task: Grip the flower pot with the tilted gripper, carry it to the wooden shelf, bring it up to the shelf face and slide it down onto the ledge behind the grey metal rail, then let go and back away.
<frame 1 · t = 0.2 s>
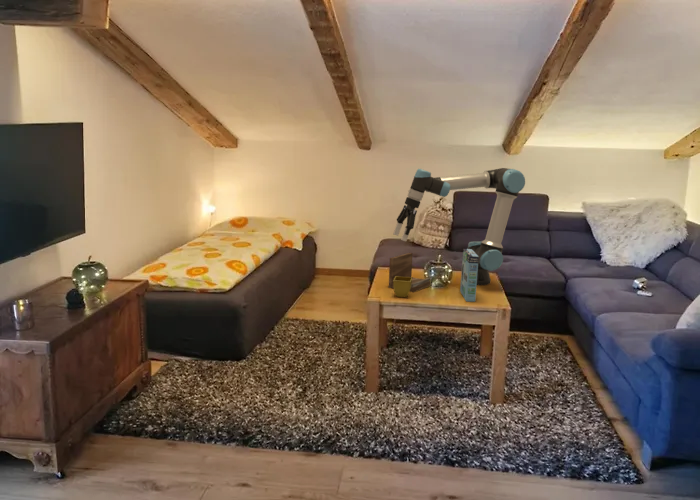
hand: (399, 237, 316), 28 cm above the table, tool tilted 20°, fingers open, 13 cm apart
wooden shelf: (412, 286, 329), on the table
blue cardboard box: (467, 297, 311), on the table
flower pot: (402, 296, 309), on the table
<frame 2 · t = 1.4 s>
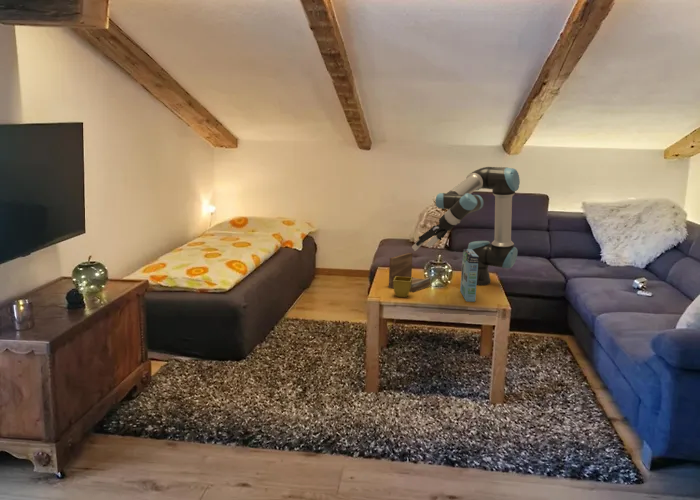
hand: (420, 247, 300), 26 cm above the table, tool tilted 45°, fingers open, 13 cm apart
nothing on the table moved.
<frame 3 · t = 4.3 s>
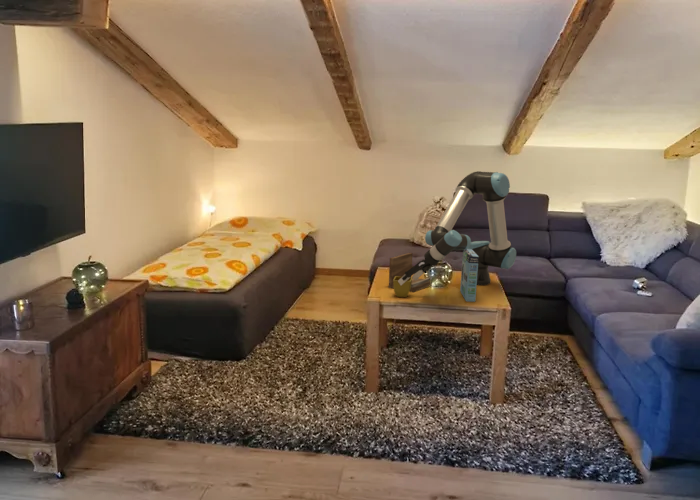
hand: (406, 280, 305), 8 cm above the table, tool tilted 45°, fingers open, 13 cm apart
flower pot: (402, 296, 310), on the table, touching gripper
everything else where it was.
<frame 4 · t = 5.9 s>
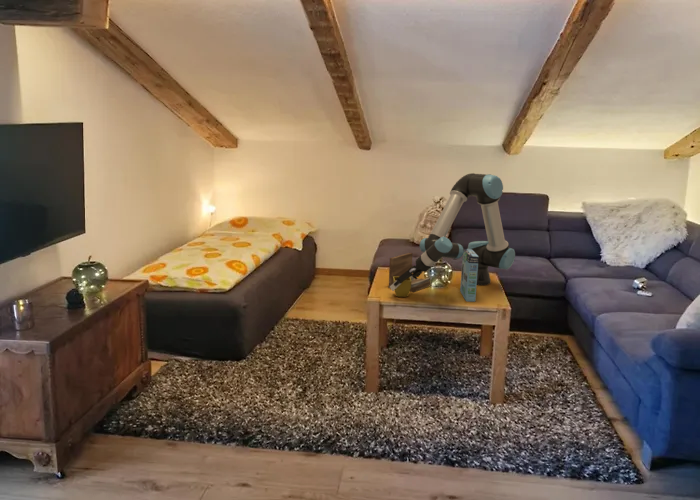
hand: (398, 286, 310), 4 cm above the table, tool tilted 45°, fingers closed on flower pot, 12 cm apart
flower pot: (401, 296, 310), on the table, touching gripper
everything else where it was.
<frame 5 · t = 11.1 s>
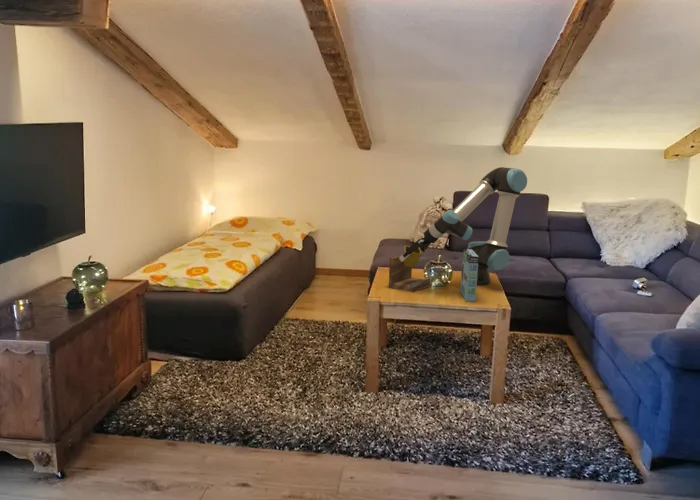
hand: (406, 258, 328), 15 cm above the table, tool tilted 45°, fingers closed on flower pot, 12 cm apart
flower pot: (409, 265, 328), point 11 cm above the table, touching gripper, wooden shelf
everything else where it was.
when the fingers open (9 cm above the table, at t = 13.1 s): flower pot drops 3 cm, resting on wooden shelf.
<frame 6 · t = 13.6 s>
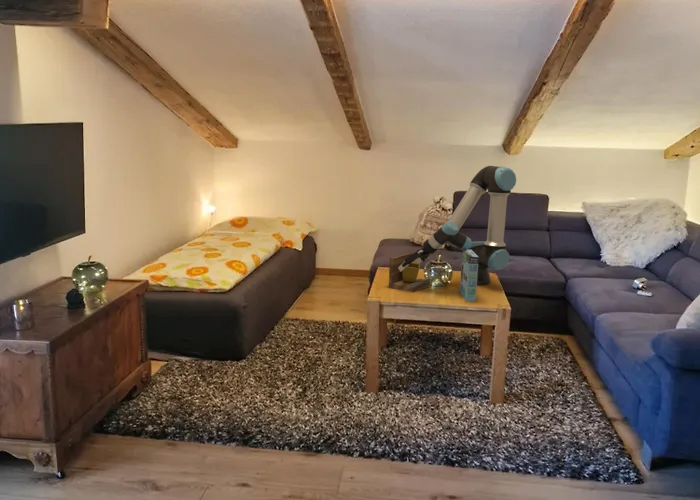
hand: (406, 267, 329), 10 cm above the table, tool tilted 45°, fingers open, 13 cm apart
blue cardboard box: (467, 297, 311), on the table, touching arm
flower pot: (408, 281, 329), point 3 cm above the table, touching wooden shelf
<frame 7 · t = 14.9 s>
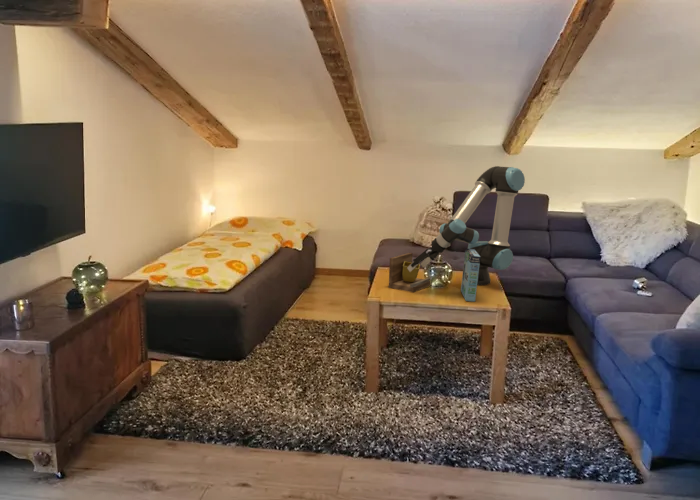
hand: (415, 267, 325), 11 cm above the table, tool tilted 45°, fingers open, 13 cm apart
blue cardboard box: (467, 296, 311), on the table
everything else where it was.
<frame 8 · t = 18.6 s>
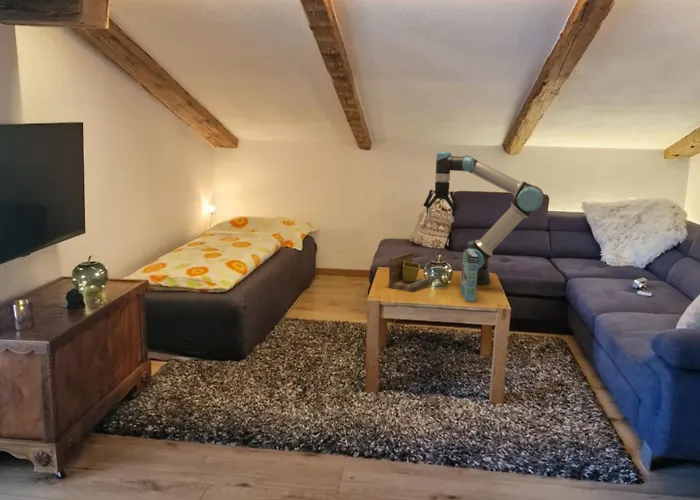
hand: (440, 221, 330), 35 cm above the table, tool pointing down, fingers open, 13 cm apart
nothing on the table moved.
at the end: flower pot inside the target area on the wooden shelf (1.3 cm from its centre), point 2.8 cm above the wooden shelf's base; flower pot tilted 9°; the gripper is holding nothing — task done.
